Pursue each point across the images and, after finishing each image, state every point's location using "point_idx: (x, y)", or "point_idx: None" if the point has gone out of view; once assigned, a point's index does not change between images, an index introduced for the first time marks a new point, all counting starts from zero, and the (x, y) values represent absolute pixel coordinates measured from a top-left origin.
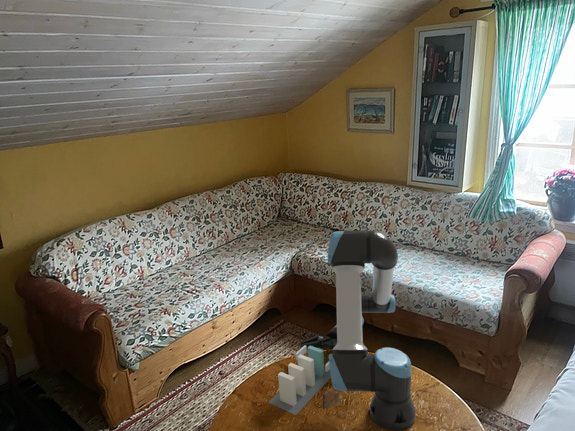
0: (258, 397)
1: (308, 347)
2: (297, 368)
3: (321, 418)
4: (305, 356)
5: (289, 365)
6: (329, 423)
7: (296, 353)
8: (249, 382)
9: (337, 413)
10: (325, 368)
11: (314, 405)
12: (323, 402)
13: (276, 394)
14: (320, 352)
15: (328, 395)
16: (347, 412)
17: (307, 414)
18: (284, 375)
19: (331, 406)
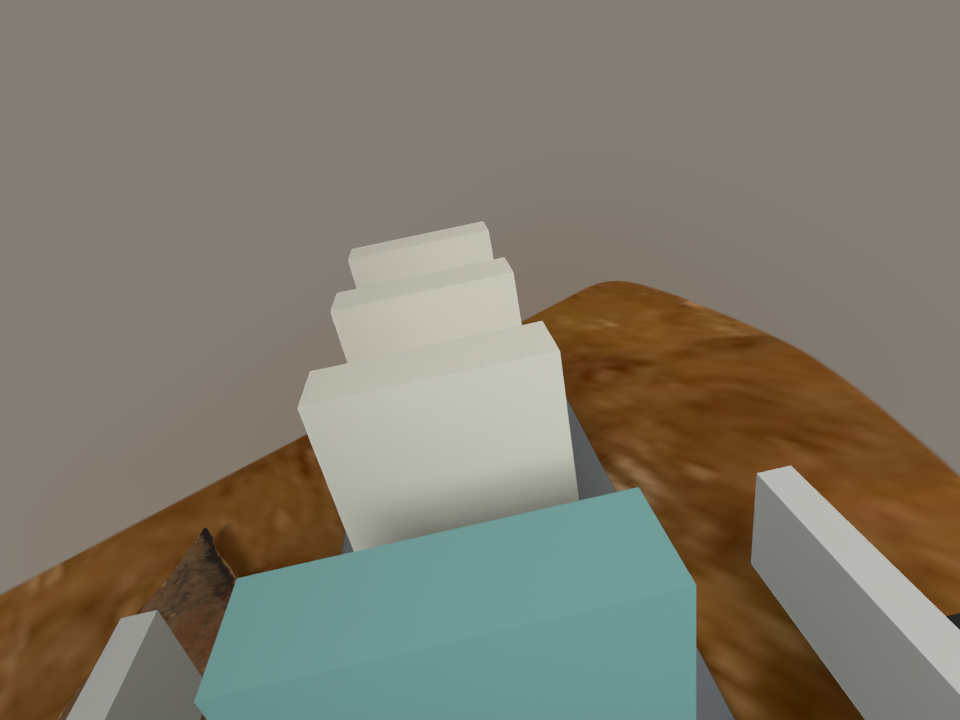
0: (655, 386)
1: (634, 510)
2: (393, 283)
3: (214, 521)
4: (452, 370)
5: (490, 261)
6: (151, 529)
7: (787, 481)
8: (848, 394)
9: (101, 617)
10: (183, 655)
11: (304, 556)
12: (226, 586)
13: (581, 428)
14: (246, 581)
15: (200, 669)
16: (8, 680)
17: (313, 488)
18: (434, 235)
19: (148, 603)
